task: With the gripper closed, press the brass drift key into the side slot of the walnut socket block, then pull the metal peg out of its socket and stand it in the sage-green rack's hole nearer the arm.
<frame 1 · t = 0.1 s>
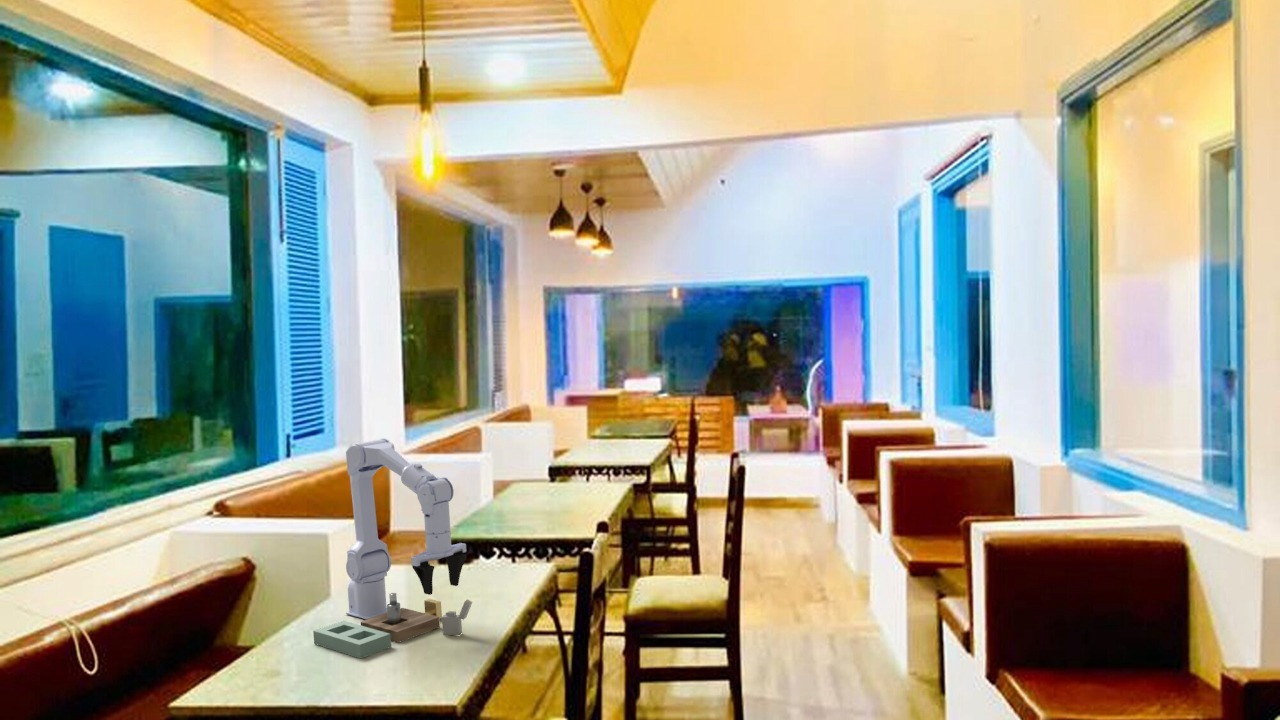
hand: (441, 589, 214), 10 cm above the table, tool pointing down, fingers open, 7 cm apart
socket block: (400, 629, 217), on the table
drill rack: (352, 645, 208), on the table
drift key: (426, 611, 223), point 2 cm above the table, slide at 0.0 cm
metal peg: (395, 631, 216), resting in socket block
lighter: (458, 635, 212), on the table
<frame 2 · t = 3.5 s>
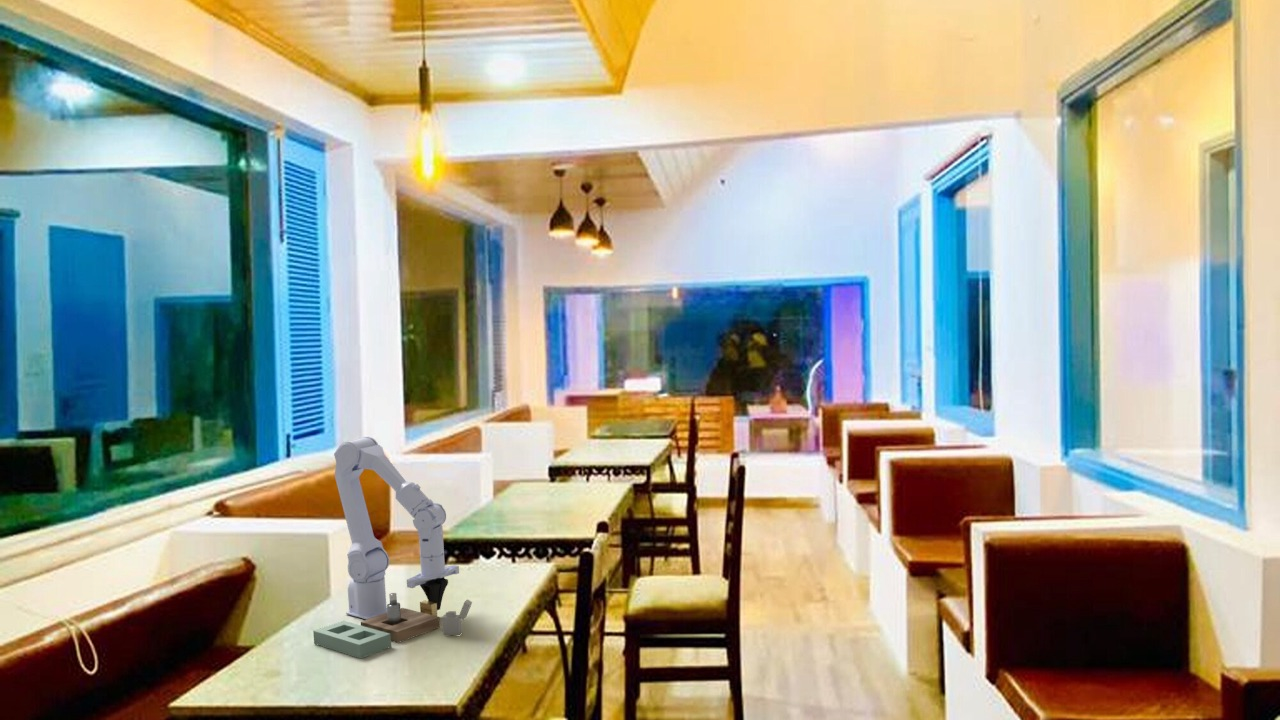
hand: (435, 609, 226), 2 cm above the table, tool pointing down, fingers closed
drift key: (422, 612, 222), point 2 cm above the table, slide at 1.4 cm, touching gripper
everything else where it was.
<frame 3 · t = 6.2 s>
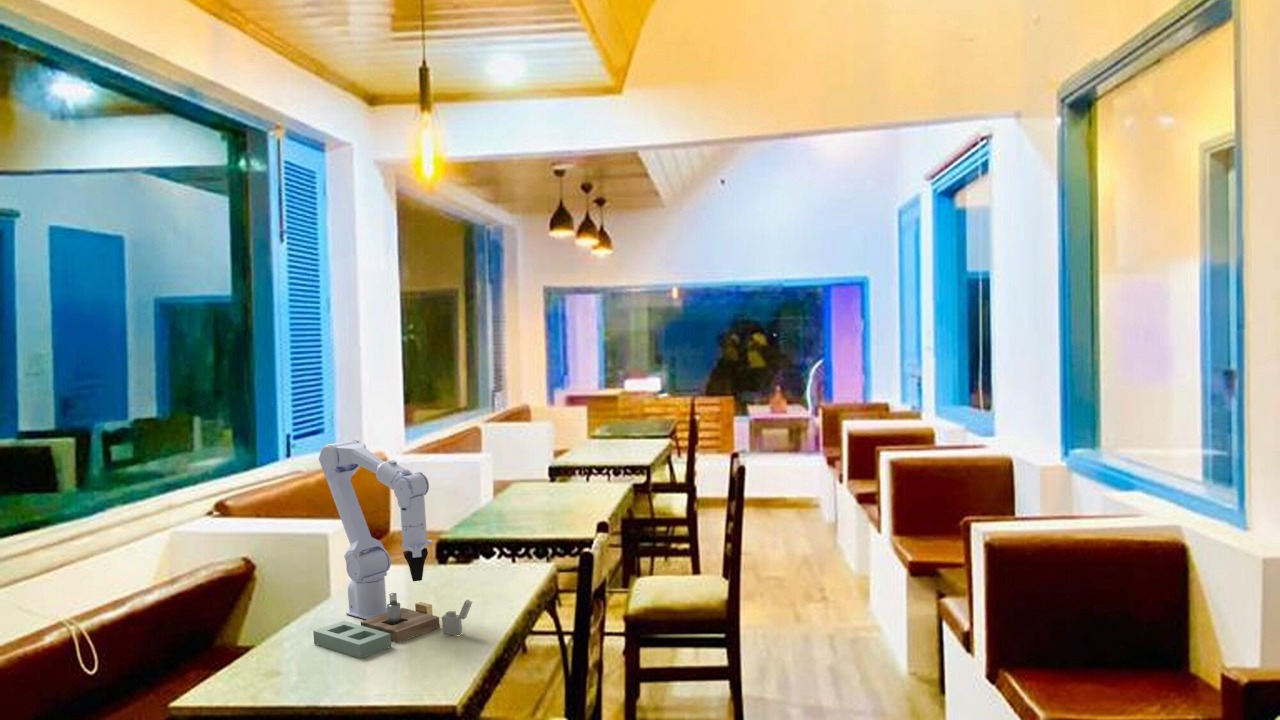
hand: (417, 580, 221), 10 cm above the table, tool pointing down, fingers closed
drift key: (417, 614, 221), point 2 cm above the table, slide at 2.8 cm
everything else where it was.
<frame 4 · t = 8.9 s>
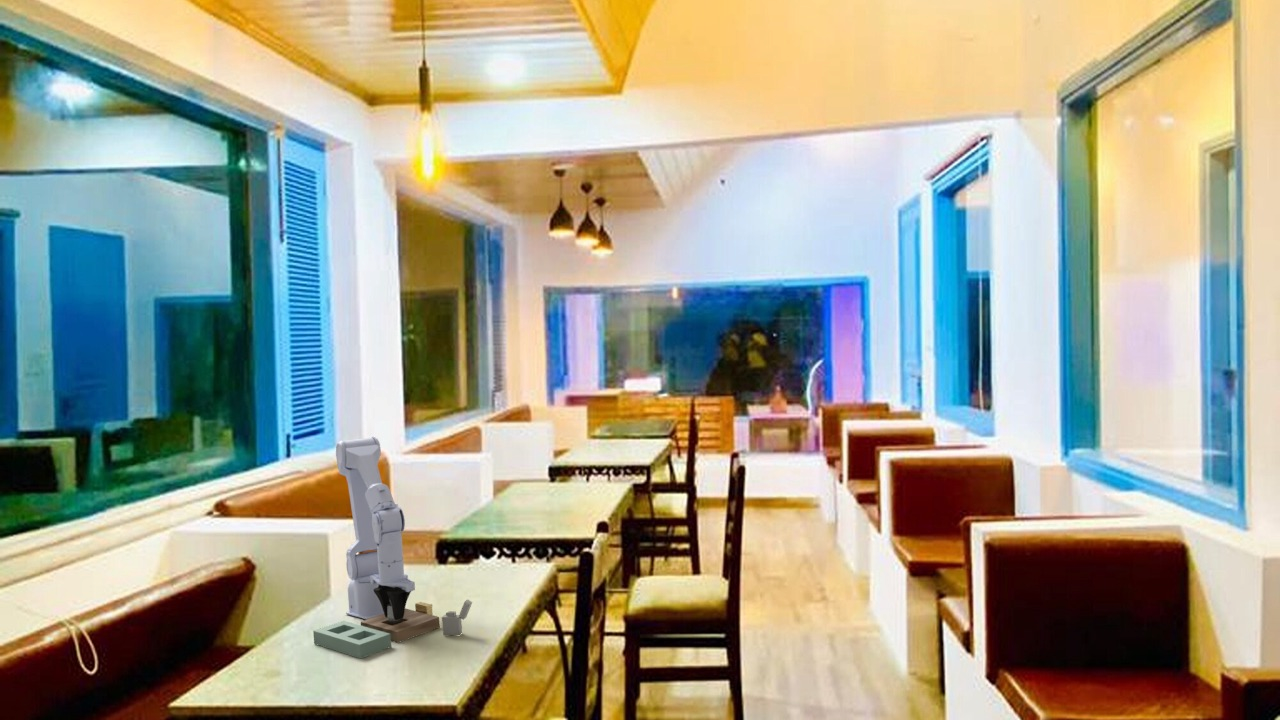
hand: (394, 617, 216), 3 cm above the table, tool pointing down, fingers closed on metal peg, 3 cm apart
metal peg: (395, 631, 216), resting in socket block, touching gripper
everything else where it was.
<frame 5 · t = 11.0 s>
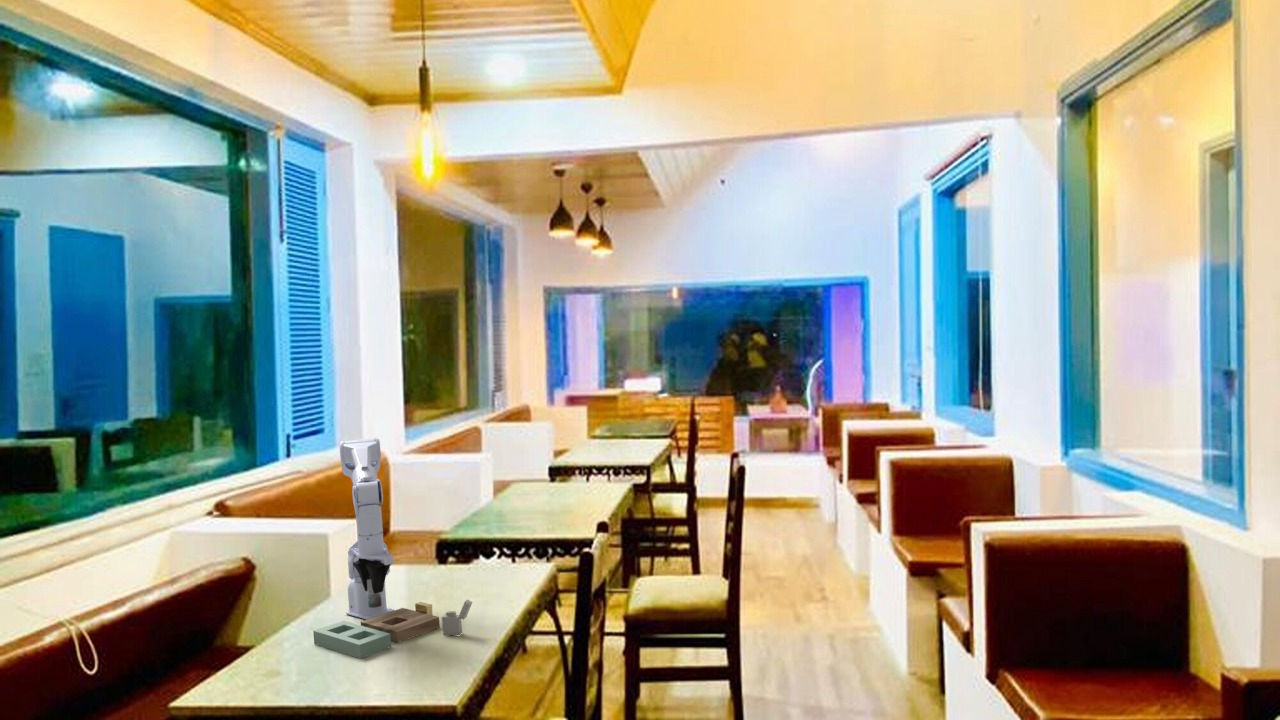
hand: (373, 591, 214), 10 cm above the table, tool pointing down, fingers closed on metal peg, 3 cm apart
metal peg: (375, 605, 214), point 7 cm above the table, touching gripper
everything else where it was.
when the fingers open (5 cm above the table, at t = 13.1 s): metal peg drops 2 cm, resting in drill rack.
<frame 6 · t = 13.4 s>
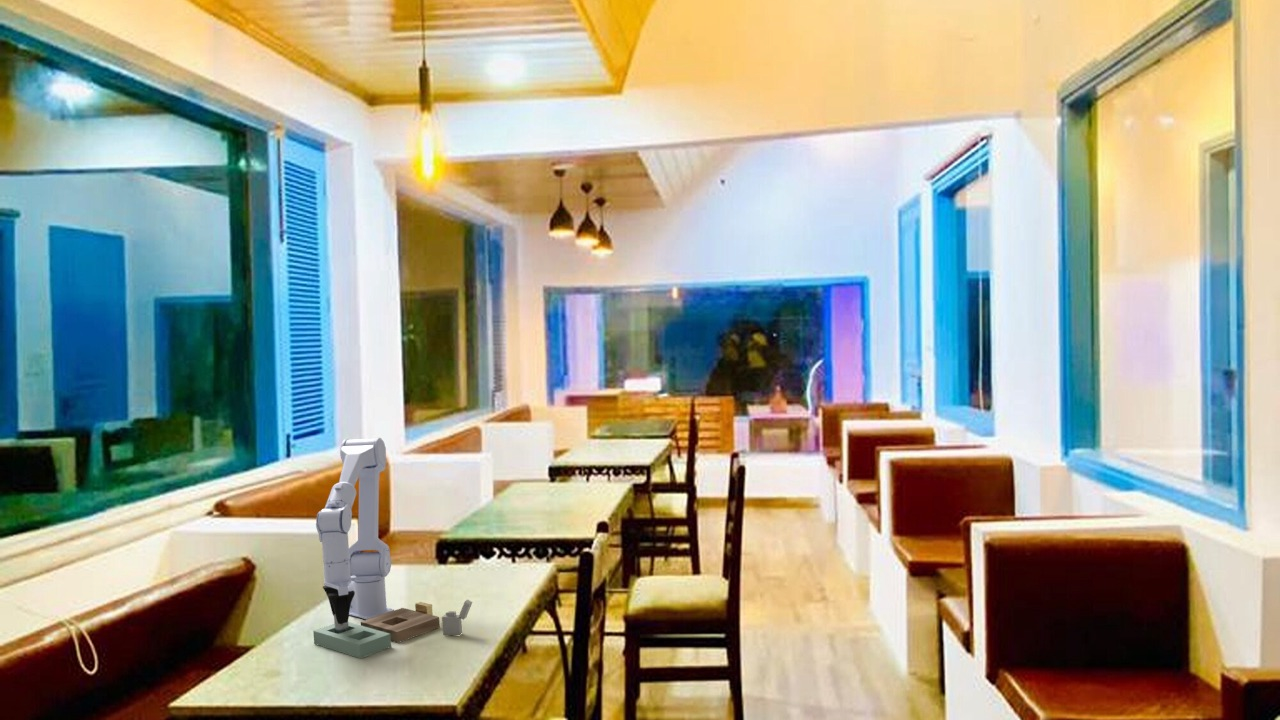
hand: (340, 618, 211), 5 cm above the table, tool pointing down, fingers open, 6 cm apart
metal peg: (342, 642, 211), resting in drill rack
everything else where it was.
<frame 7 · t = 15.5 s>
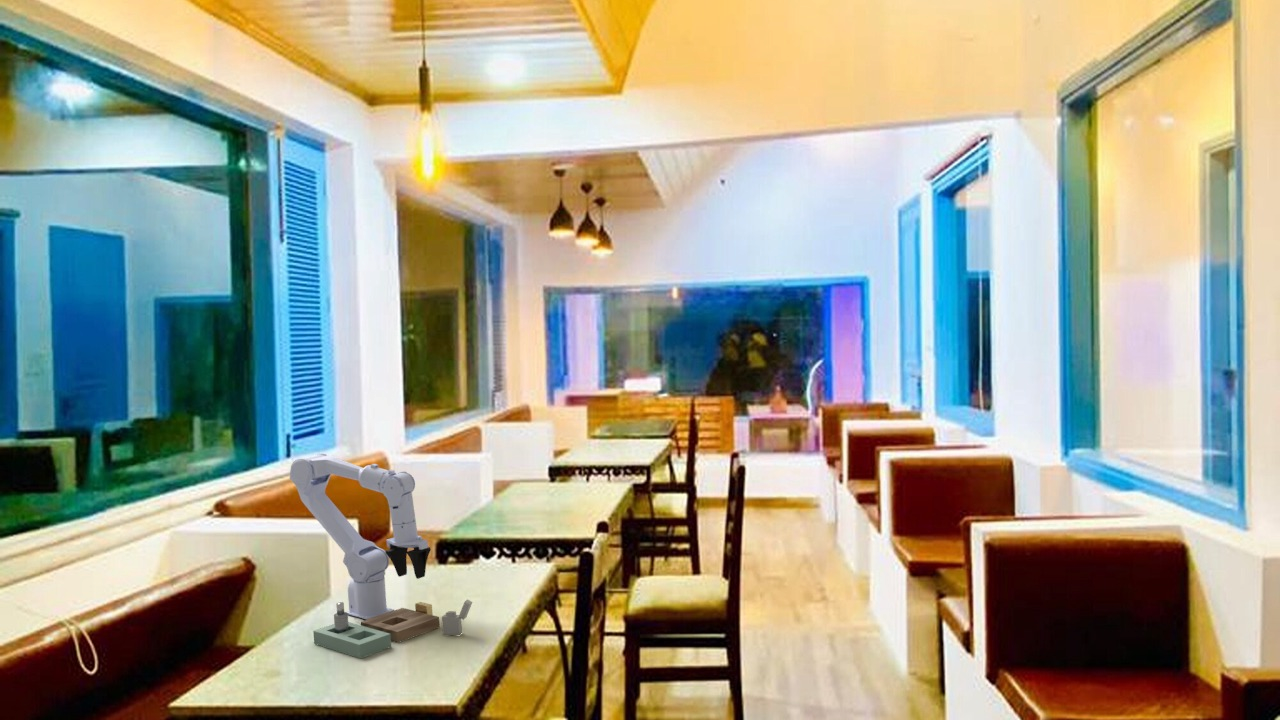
hand: (411, 576, 227), 10 cm above the table, tool pointing down, fingers open, 7 cm apart
nothing on the table moved.
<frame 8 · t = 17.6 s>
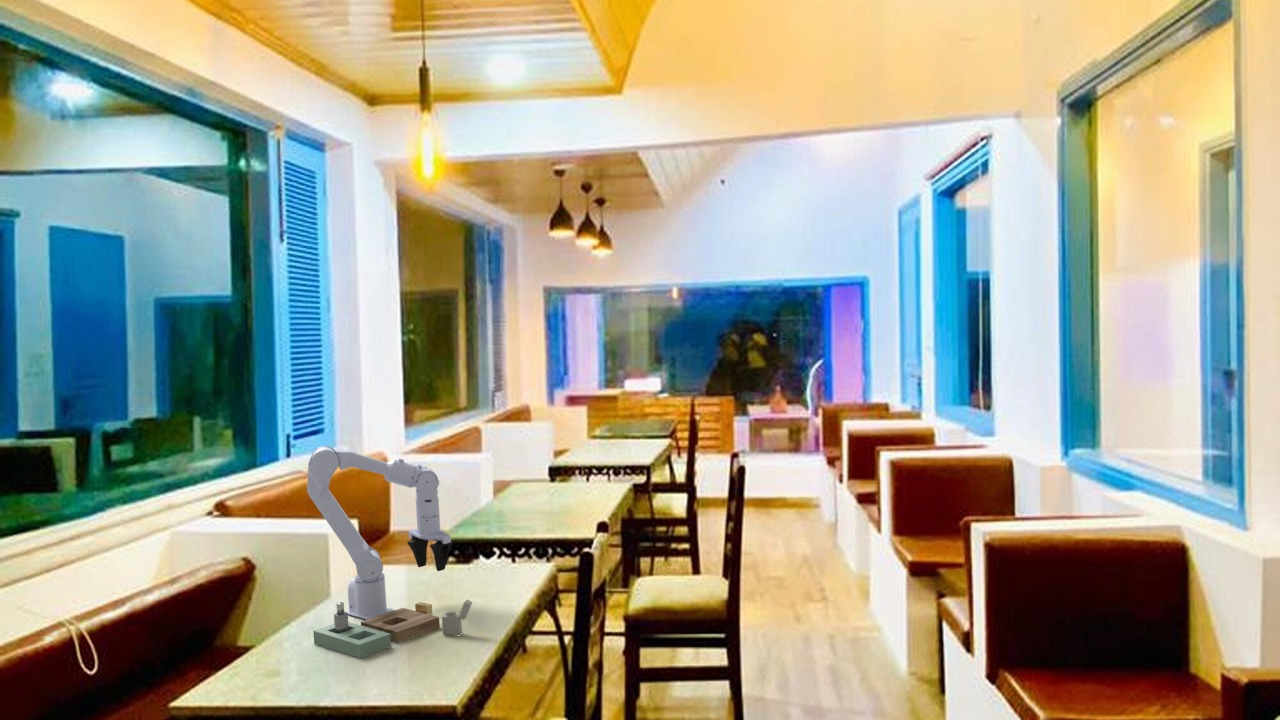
hand: (431, 568, 236), 9 cm above the table, tool pointing down, fingers open, 7 cm apart
nothing on the table moved.
at the end: drift key slide at 2.8 cm; metal peg 0.1 cm from the target spot on the drill rack, point 0.0 cm above the drill rack's base; metal peg tilted 0° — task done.
